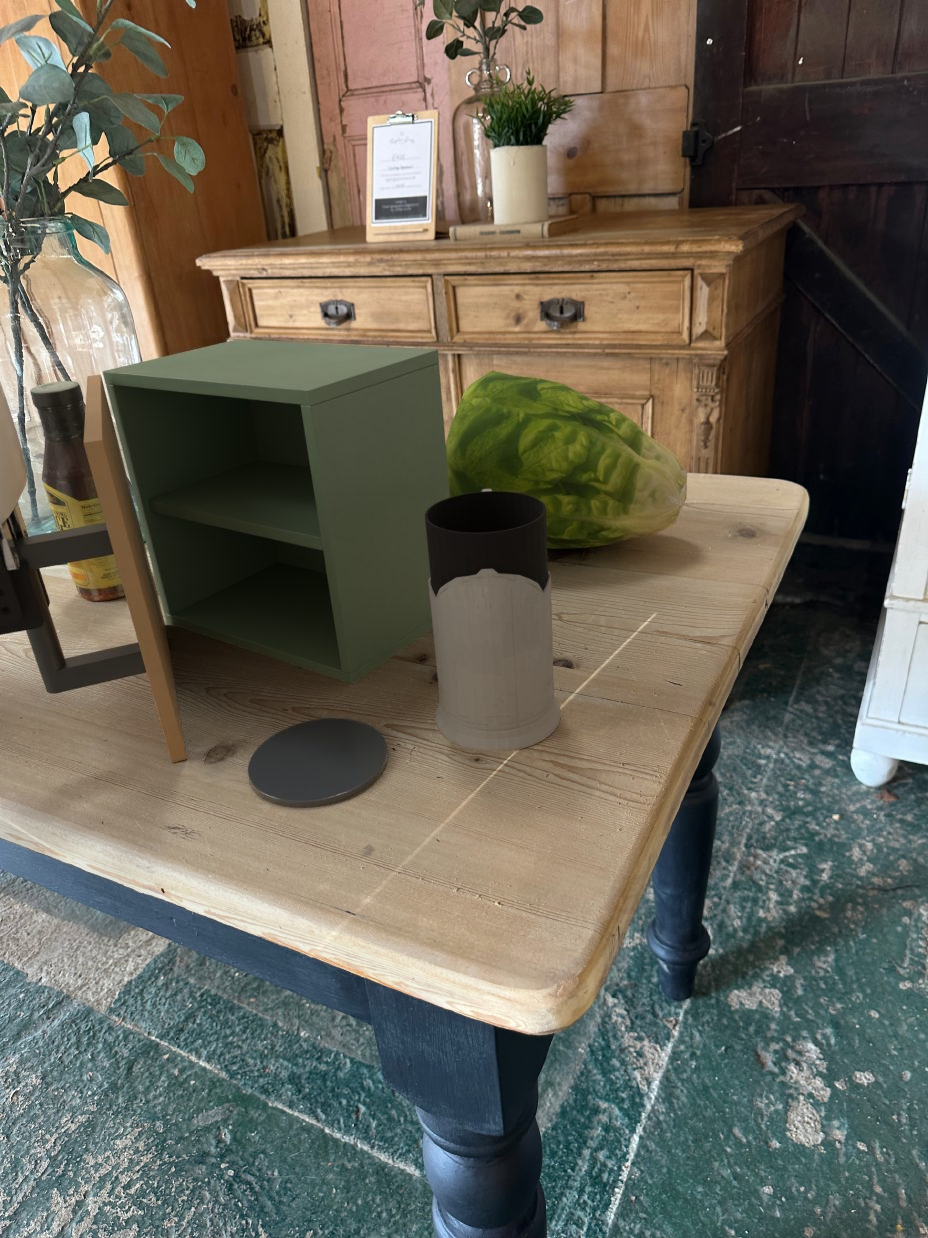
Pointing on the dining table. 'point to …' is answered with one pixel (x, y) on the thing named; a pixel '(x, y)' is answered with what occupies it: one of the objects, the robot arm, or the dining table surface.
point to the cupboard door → (135, 575)
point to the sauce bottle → (73, 483)
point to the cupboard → (289, 494)
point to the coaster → (317, 763)
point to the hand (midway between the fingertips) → (20, 619)
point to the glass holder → (492, 620)
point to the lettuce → (564, 460)
